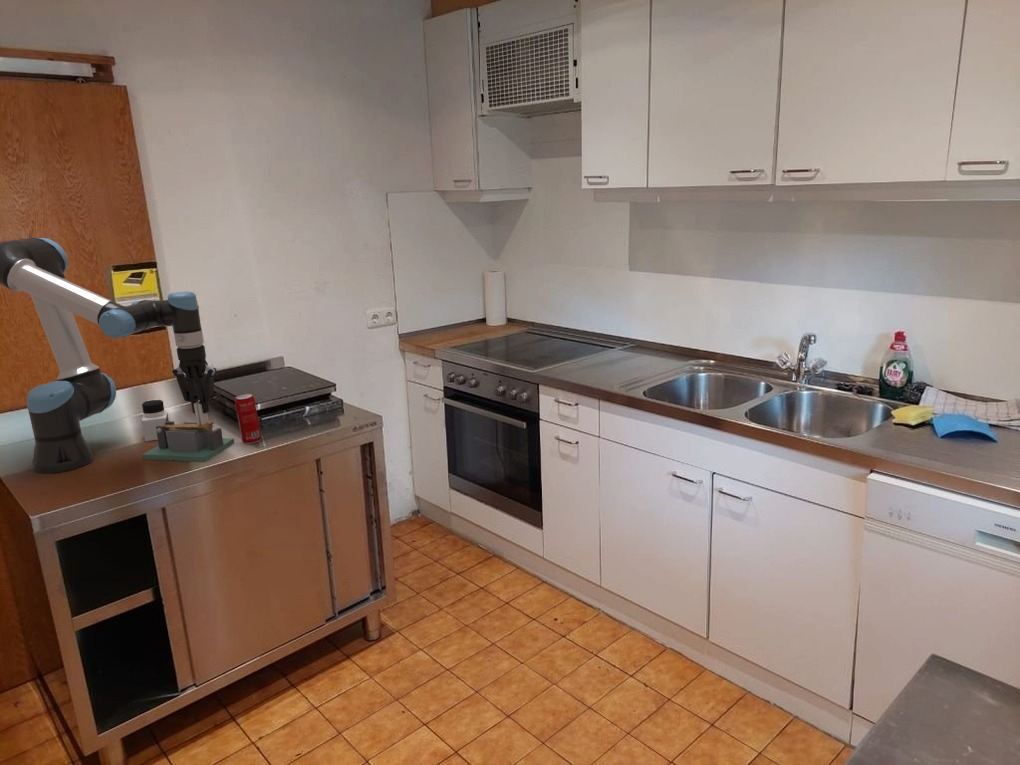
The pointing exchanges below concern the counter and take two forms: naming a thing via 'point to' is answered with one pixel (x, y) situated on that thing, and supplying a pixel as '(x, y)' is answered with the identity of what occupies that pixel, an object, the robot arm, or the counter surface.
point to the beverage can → (247, 418)
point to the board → (186, 455)
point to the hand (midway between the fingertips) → (202, 423)
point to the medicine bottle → (153, 418)
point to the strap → (189, 426)
